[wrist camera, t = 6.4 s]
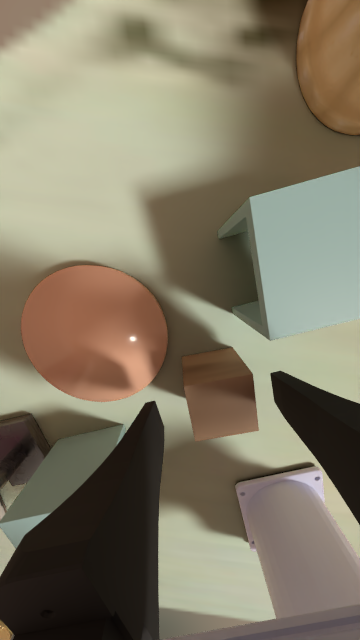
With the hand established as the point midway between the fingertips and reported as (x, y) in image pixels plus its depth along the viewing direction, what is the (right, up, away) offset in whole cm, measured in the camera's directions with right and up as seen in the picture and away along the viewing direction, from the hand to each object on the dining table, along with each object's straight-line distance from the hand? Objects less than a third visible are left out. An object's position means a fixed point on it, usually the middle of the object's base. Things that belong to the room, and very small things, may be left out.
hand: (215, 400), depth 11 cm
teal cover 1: (-9, -8, +6) cm, 13 cm away
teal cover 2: (+4, +9, +2) cm, 10 cm away
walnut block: (0, 0, +4) cm, 4 cm away
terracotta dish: (-8, +4, +3) cm, 9 cm away
